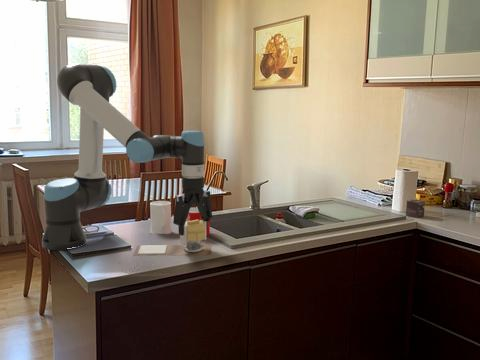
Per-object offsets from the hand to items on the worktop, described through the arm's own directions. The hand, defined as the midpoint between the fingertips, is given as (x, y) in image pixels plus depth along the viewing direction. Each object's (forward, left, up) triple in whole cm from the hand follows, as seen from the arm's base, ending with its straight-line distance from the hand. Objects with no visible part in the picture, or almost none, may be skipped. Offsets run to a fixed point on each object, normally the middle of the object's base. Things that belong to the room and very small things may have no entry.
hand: (193, 241), depth 164 cm
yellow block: (0, 0, +1) cm, 1 cm away
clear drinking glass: (0, 0, -3) cm, 3 cm away
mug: (-13, +25, -4) cm, 29 cm away
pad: (-14, 0, -3) cm, 14 cm away
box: (+102, +49, -5) cm, 113 cm away
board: (-7, 0, -4) cm, 8 cm away
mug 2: (+2, +18, -4) cm, 19 cm away
